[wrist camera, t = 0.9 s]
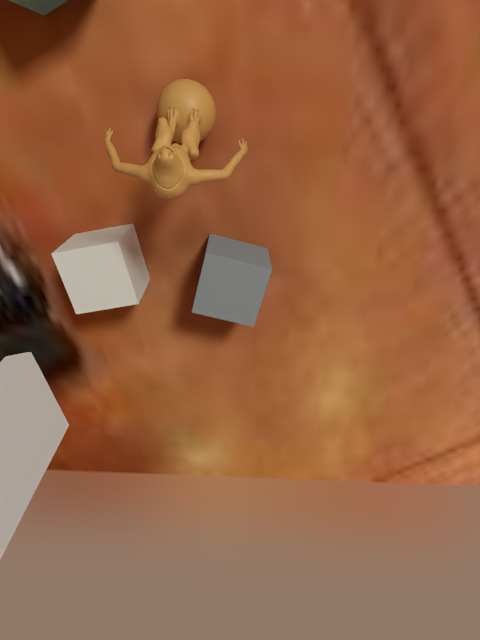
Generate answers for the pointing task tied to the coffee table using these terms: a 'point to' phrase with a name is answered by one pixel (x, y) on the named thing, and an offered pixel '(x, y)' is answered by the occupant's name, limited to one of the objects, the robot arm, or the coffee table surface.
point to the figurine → (183, 127)
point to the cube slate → (232, 280)
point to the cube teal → (40, 5)
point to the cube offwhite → (102, 269)
